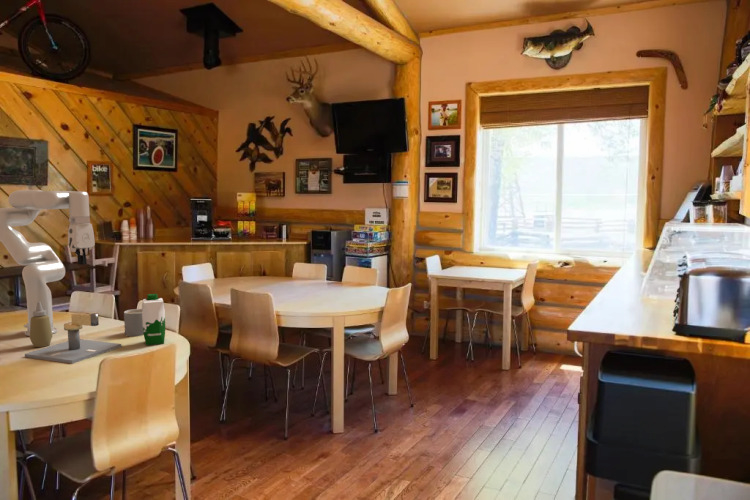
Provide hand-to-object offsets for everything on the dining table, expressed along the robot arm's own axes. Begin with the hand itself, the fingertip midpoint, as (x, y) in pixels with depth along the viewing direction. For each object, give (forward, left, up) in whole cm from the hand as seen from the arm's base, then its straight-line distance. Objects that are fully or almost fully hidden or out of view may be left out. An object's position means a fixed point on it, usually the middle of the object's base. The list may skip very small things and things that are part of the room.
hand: (82, 264), depth 246 cm
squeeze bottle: (-8, -15, -32) cm, 37 cm away
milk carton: (+32, +5, -32) cm, 46 cm away
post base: (+12, -17, -32) cm, 38 cm away
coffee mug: (+15, +16, -32) cm, 39 cm away
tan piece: (+16, -17, -23) cm, 32 cm away
